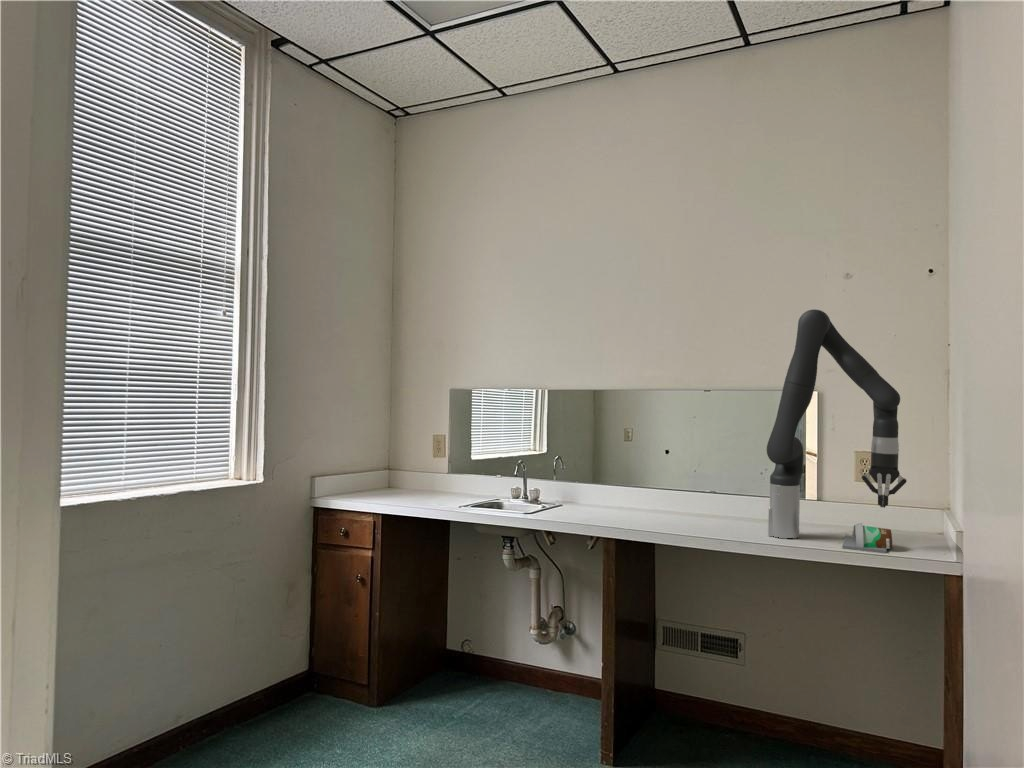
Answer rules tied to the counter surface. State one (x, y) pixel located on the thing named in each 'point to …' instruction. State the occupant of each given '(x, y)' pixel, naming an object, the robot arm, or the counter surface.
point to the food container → (872, 537)
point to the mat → (851, 544)
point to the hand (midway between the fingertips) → (882, 506)
